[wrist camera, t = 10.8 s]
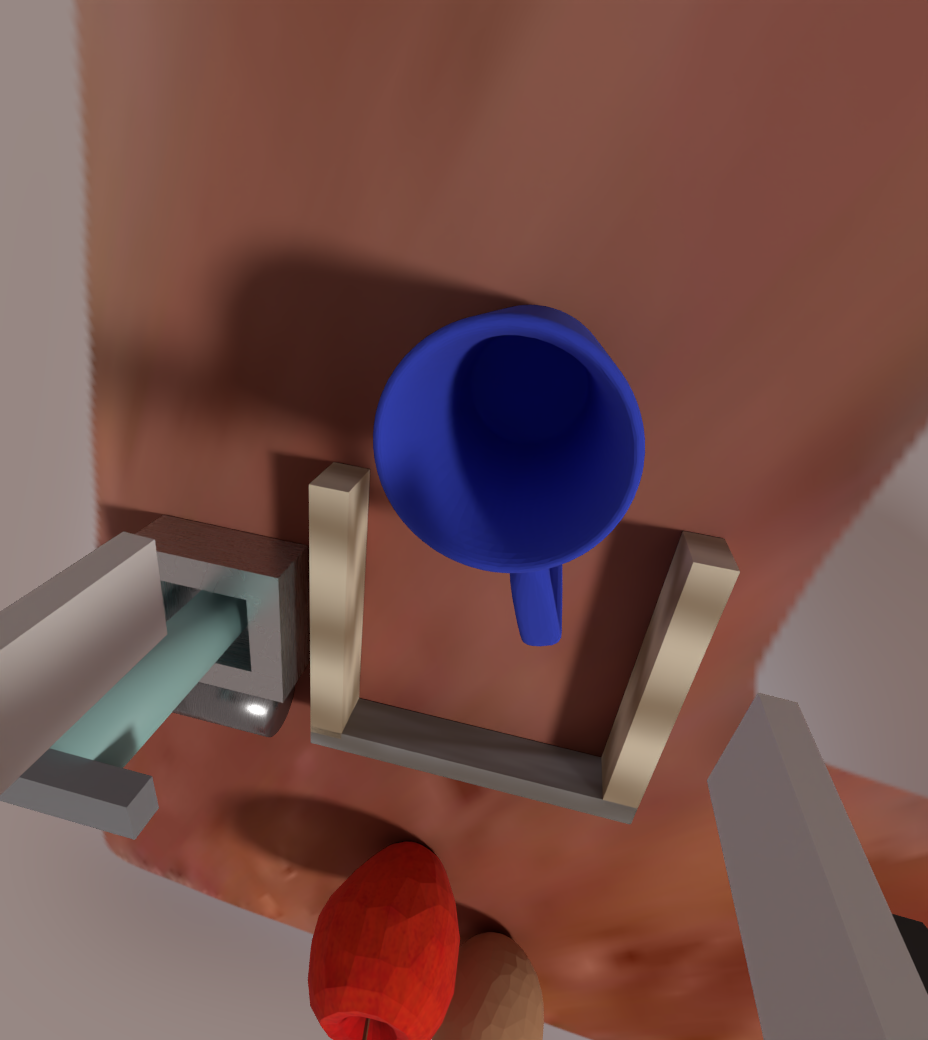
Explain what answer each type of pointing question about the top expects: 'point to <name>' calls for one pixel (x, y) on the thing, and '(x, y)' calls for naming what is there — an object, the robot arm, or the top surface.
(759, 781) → the robot arm
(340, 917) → the apple
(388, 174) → the top surface
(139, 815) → the crank peg
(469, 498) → the mug
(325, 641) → the bay
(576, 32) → the top surface
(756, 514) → the top surface
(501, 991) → the egg
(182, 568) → the block
